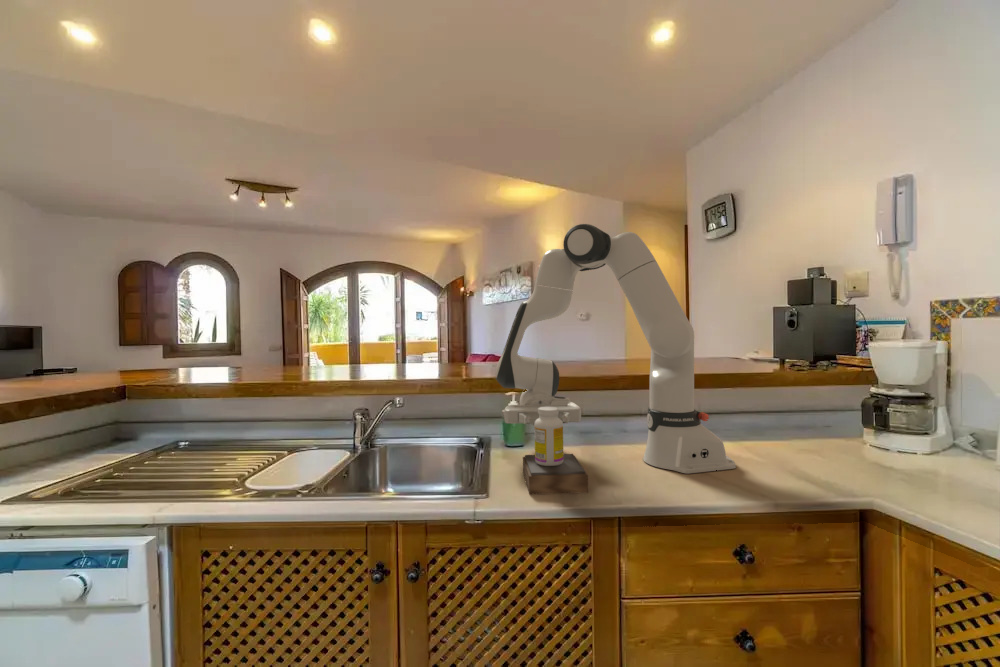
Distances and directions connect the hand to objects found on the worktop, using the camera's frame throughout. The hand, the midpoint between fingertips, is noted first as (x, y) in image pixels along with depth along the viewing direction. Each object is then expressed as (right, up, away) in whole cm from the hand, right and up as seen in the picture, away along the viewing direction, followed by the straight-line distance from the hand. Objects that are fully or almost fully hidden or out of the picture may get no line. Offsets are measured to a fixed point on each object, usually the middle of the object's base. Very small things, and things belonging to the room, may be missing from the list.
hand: (546, 420), depth 112 cm
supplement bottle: (0, -9, -6) cm, 11 cm away
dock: (+1, -13, -6) cm, 15 cm away
